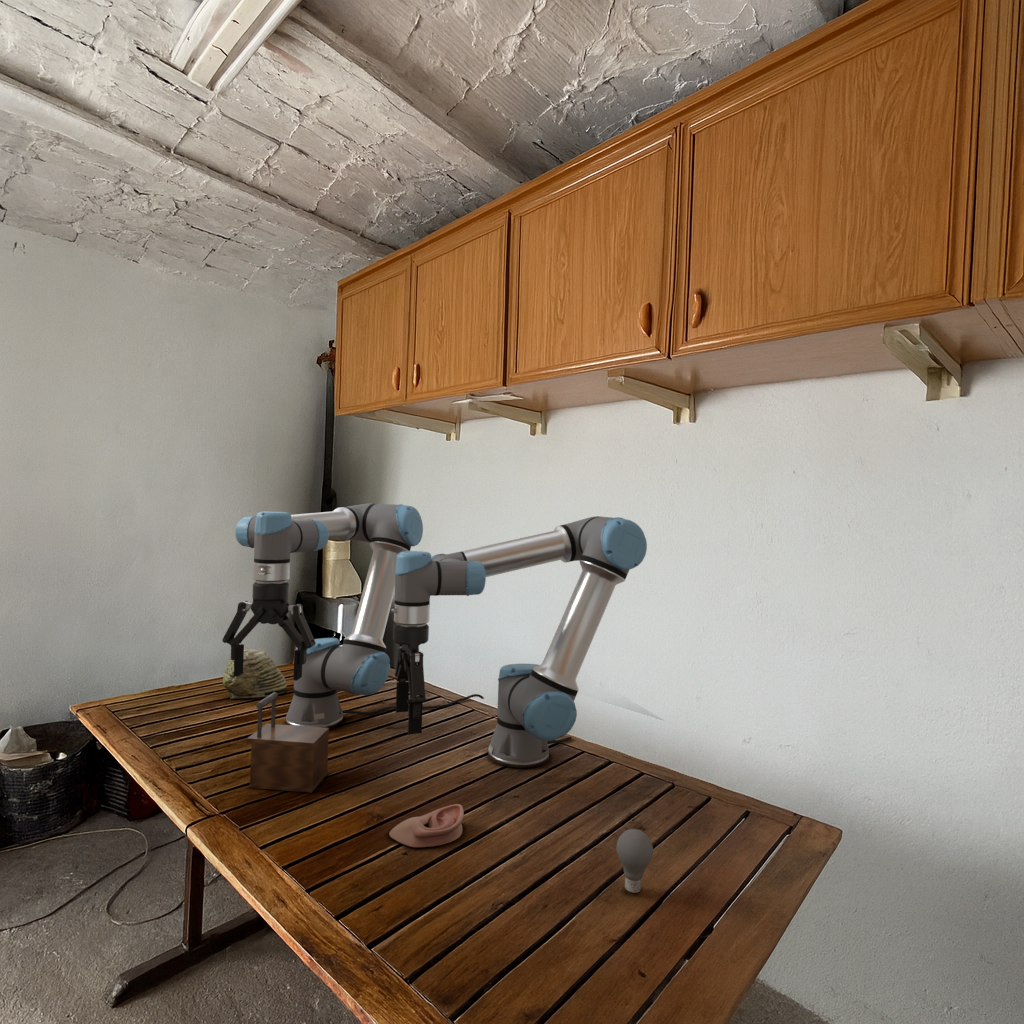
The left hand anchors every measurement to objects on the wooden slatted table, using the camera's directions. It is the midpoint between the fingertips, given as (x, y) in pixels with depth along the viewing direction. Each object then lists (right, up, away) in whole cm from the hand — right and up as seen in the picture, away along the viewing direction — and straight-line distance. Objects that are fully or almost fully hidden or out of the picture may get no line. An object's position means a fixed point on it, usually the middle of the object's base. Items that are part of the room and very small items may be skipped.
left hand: (267, 677), depth 140 cm
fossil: (-26, -21, +58) cm, 67 cm away
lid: (+5, -13, 0) cm, 14 cm away
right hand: (+32, -9, -4) cm, 33 cm away
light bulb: (+74, -27, -35) cm, 86 cm away
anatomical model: (+38, -25, -19) cm, 49 cm away
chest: (+5, -23, 0) cm, 24 cm away
